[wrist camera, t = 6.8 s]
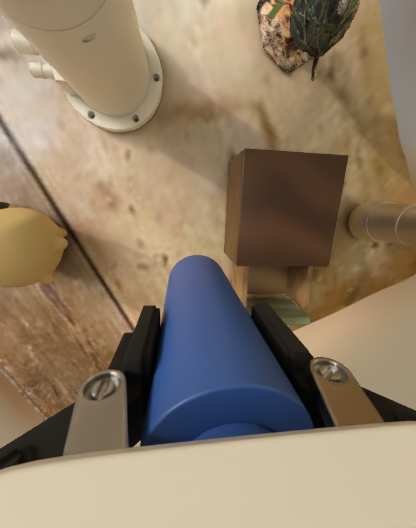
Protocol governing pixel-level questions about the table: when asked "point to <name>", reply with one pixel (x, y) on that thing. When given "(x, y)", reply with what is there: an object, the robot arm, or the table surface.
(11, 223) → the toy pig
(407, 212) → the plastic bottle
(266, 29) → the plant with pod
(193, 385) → the medicine bottle
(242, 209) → the cabinet
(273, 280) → the drawer
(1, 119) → the table surface
